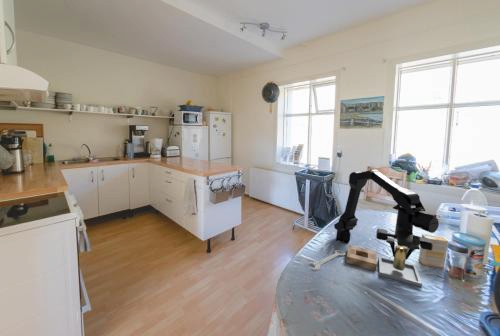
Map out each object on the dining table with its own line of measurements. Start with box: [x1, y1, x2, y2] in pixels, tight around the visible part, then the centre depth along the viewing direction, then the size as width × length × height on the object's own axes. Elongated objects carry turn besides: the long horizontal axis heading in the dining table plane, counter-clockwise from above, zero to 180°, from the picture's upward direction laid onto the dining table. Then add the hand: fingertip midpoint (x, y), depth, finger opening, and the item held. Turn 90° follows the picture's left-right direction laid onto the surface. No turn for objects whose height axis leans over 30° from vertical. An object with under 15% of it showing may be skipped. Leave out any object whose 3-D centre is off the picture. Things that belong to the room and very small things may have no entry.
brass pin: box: [393, 244, 407, 271], centre depth 92 cm, size 4×4×9 cm
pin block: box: [345, 244, 378, 271], centre depth 102 cm, size 12×12×3 cm
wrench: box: [307, 249, 346, 271], centre depth 102 cm, size 25×2×5 cm
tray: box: [377, 255, 423, 289], centre depth 93 cm, size 14×14×2 cm
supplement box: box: [418, 233, 449, 269], centre depth 100 cm, size 8×5×13 cm, turn 71°
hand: (399, 257), depth 92 cm, fingers closed on brass pin, 4 cm apart
